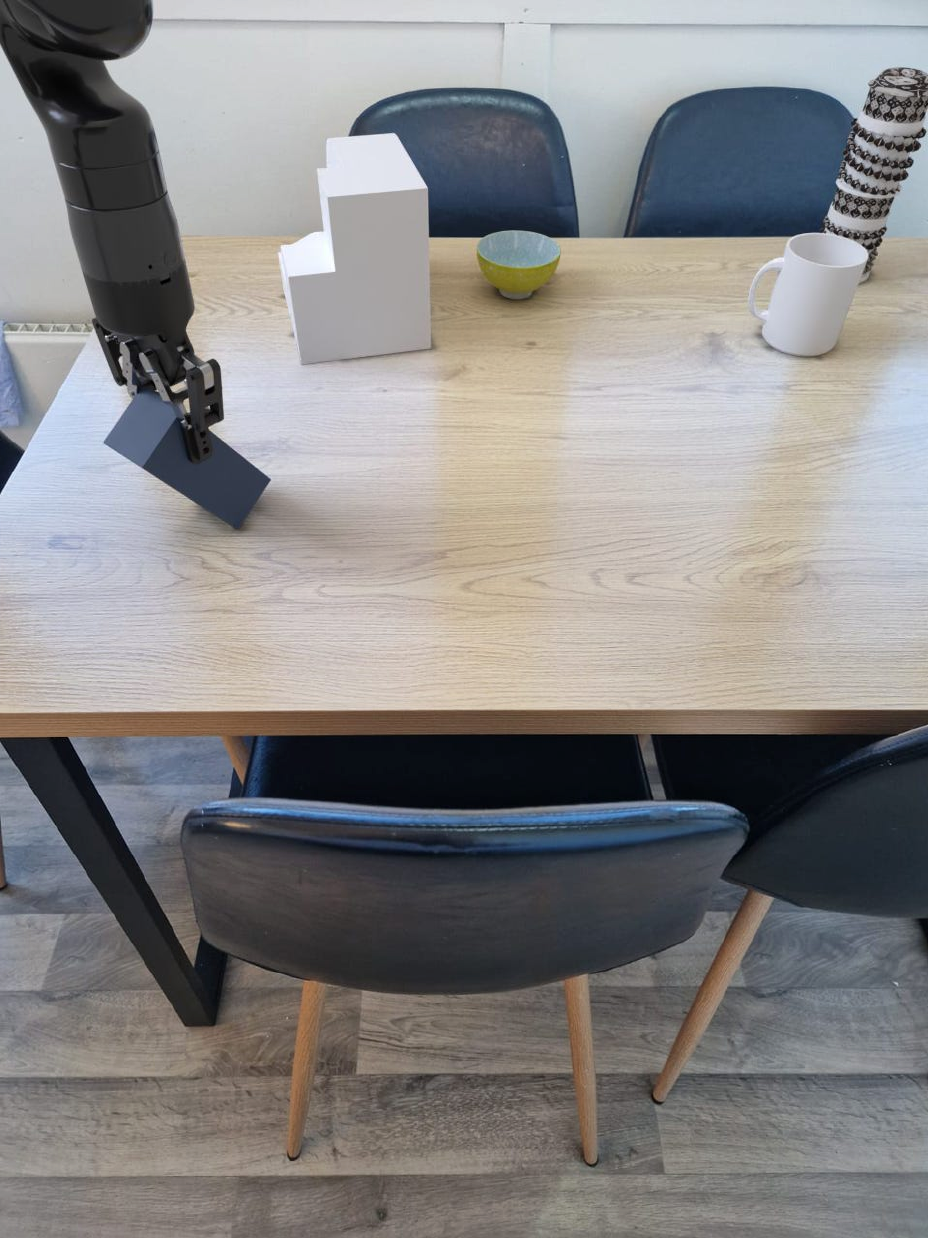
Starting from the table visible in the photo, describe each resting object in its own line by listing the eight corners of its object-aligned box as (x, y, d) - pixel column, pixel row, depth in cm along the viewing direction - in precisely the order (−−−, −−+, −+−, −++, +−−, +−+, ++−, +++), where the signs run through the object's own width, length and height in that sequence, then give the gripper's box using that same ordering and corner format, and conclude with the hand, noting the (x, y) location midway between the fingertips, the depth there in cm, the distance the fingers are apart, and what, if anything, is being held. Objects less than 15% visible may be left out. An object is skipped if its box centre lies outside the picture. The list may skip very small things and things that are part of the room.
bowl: (572, 287, 117) (577, 243, 113) (528, 320, 111) (531, 274, 106) (505, 265, 121) (507, 222, 117) (459, 295, 115) (459, 251, 111)
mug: (845, 358, 105) (881, 266, 96) (752, 359, 105) (779, 268, 96) (820, 320, 111) (851, 232, 103) (732, 322, 111) (755, 233, 102)
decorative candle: (857, 292, 117) (933, 88, 99) (795, 272, 121) (857, 73, 103) (881, 269, 122) (957, 71, 104) (820, 251, 126) (884, 57, 107)
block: (279, 273, 119) (256, 124, 105) (392, 262, 122) (384, 114, 108) (301, 364, 103) (277, 201, 88) (431, 348, 106) (427, 187, 91)
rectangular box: (142, 467, 69) (183, 407, 70) (102, 442, 72) (142, 384, 72) (237, 530, 82) (272, 478, 82) (201, 507, 84) (235, 457, 85)
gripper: (33, 244, 64) (95, 433, 76) (149, 302, 57) (197, 498, 70) (117, 217, 68) (164, 400, 80) (234, 269, 62) (265, 459, 74)
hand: (179, 445), depth 75 cm, fingers closed on rectangular box, 5 cm apart
